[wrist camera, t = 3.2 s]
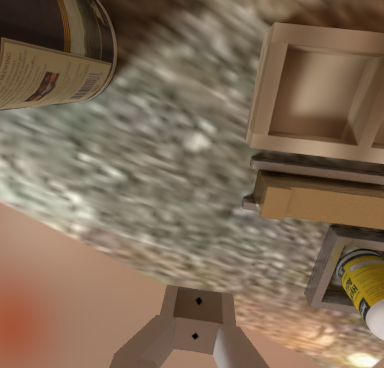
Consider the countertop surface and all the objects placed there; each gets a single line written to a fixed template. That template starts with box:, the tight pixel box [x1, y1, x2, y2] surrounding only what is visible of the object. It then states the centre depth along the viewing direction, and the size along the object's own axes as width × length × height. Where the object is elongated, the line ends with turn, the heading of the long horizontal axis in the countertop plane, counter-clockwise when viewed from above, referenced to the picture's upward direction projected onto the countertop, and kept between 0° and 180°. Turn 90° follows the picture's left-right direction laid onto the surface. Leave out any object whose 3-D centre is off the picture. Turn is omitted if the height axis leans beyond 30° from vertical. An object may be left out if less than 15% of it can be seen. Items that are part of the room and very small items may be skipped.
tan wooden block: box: [253, 169, 384, 230], centre depth 23 cm, size 12×3×5 cm, turn 84°
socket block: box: [242, 157, 384, 314], centre depth 25 cm, size 20×17×4 cm
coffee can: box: [0, 0, 117, 110], centre depth 16 cm, size 10×10×14 cm
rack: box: [245, 22, 384, 164], centre depth 20 cm, size 18×9×4 cm, turn 84°
